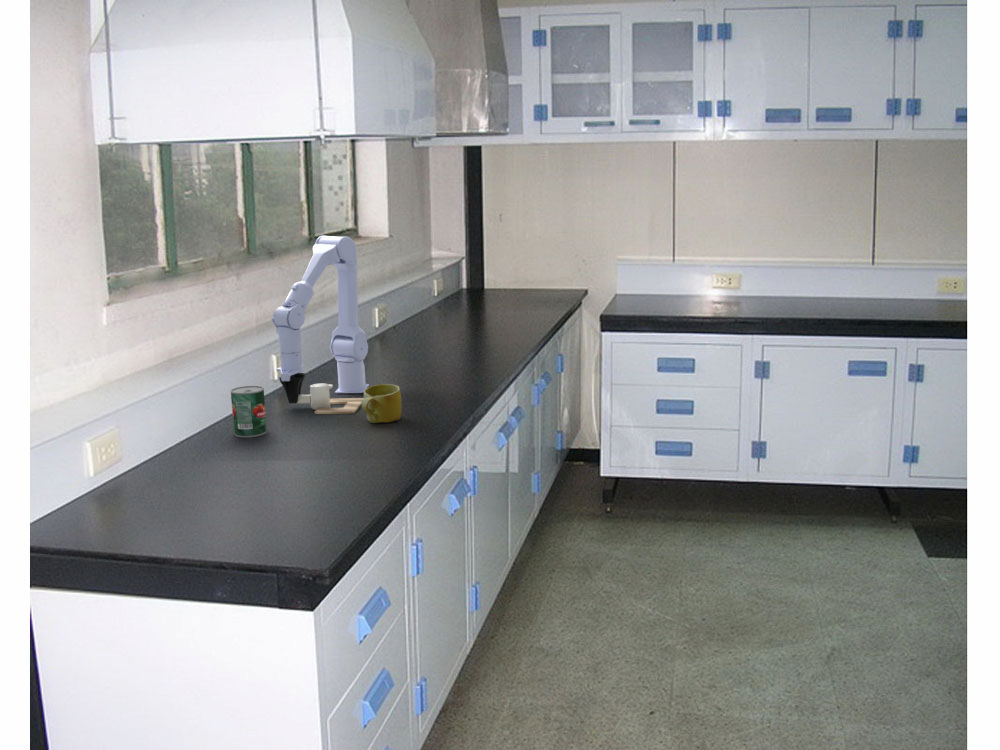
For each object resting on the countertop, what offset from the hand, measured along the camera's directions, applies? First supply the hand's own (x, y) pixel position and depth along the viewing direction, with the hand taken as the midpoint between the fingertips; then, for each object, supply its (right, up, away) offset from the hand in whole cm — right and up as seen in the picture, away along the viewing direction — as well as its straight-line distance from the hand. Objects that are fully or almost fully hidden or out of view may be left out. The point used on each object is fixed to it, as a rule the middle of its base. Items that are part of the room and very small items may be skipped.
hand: (294, 401), depth 275 cm
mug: (+25, -5, -16) cm, 30 cm away
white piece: (+5, -1, 0) cm, 6 cm away
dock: (+12, -1, 0) cm, 12 cm away
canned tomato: (-6, -7, -23) cm, 25 cm away
